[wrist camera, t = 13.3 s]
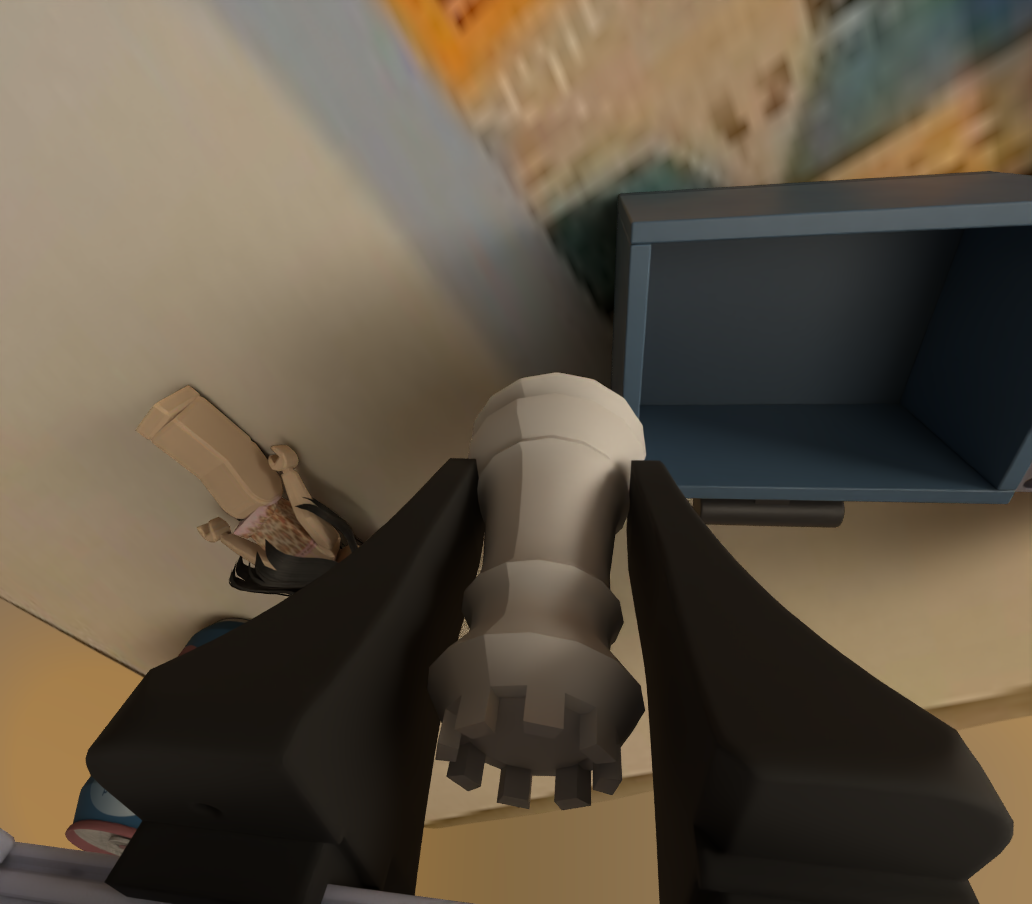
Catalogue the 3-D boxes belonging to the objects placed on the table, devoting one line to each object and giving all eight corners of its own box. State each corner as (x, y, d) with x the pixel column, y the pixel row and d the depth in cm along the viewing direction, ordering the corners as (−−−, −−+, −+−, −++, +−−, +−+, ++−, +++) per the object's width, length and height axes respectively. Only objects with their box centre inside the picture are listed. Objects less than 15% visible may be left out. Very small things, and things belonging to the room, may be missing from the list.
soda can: (210, 597, 33) (50, 810, 23) (311, 639, 34) (201, 856, 24) (195, 648, 37) (52, 848, 27) (287, 683, 38) (183, 886, 28)
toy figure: (146, 451, 26) (370, 612, 31) (39, 522, 21) (330, 706, 25) (215, 361, 24) (449, 551, 28) (113, 415, 18) (423, 641, 23)
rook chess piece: (443, 399, 13) (297, 700, 6) (611, 336, 12) (638, 645, 5) (517, 521, 15) (461, 841, 9) (666, 482, 14) (735, 832, 7)
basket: (990, 170, 15) (1188, 192, 10) (876, 469, 21) (967, 577, 16) (617, 193, 17) (631, 221, 12) (607, 467, 22) (614, 564, 17)
